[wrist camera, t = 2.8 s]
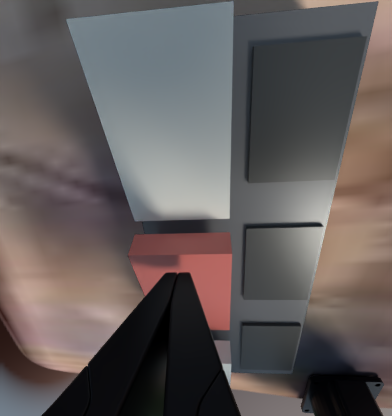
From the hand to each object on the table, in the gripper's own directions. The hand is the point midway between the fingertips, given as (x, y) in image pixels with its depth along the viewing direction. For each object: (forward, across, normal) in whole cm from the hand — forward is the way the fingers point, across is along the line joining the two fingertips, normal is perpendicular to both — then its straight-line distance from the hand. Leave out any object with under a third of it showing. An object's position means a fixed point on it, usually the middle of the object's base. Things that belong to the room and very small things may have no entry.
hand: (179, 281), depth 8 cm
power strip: (+7, -2, +2) cm, 8 cm away
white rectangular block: (+2, 0, -4) cm, 5 cm away
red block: (+2, 0, +2) cm, 3 cm away
